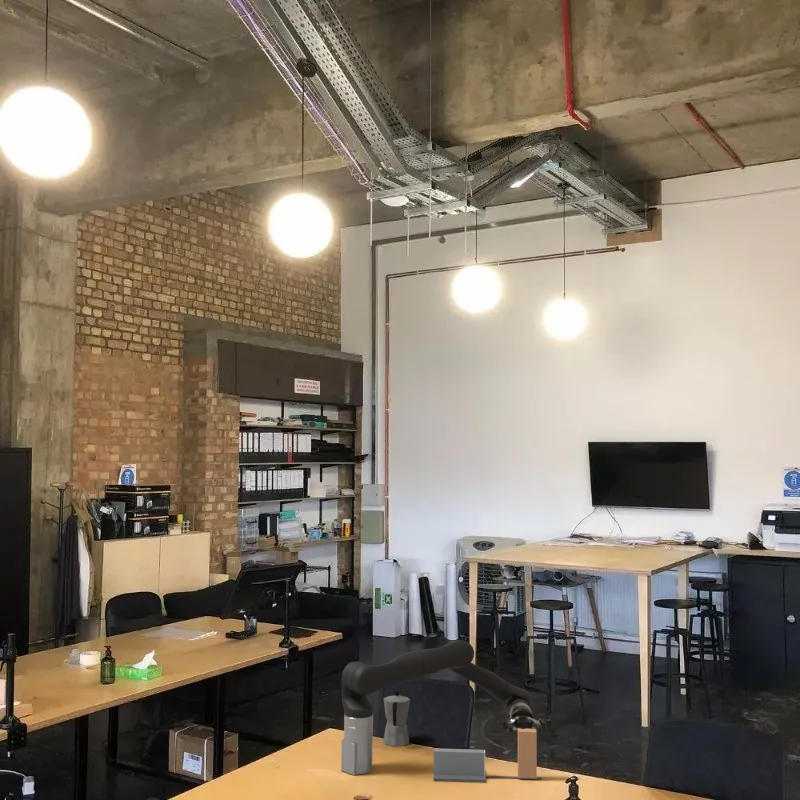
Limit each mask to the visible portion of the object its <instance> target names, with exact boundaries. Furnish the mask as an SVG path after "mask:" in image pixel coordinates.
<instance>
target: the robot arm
mask: <svg viewBox="0 0 800 800" xmlns="http://www.w3.org/2000/svg"><path fill="white" fill-rule="evenodd" d="M474 658H475V649H474V647H473V646H472V645H471V643H469V642H468V641H467V640H463V639H462V640H461V639H458V640H457V639H456V640H454V641H451V642H448V643H445V644H444V645H443V646H440V647H434V648H433V647H432V648H425V649H418V650H413V651H412V650H411V651H408V652H404V653H400V654H398V655H397V656H395V658H393V659H392V660H391V661H390V662H387V663H383V664H379V665H369V664H366V663H364V662H363V663H362V662H359V661H351V662H348V664H347V665H346V666H345V667H344V668H343V671H342V675H341V703H342V706H343V710H344V714H343V715H344V718H343V719H344V721H343V724H344V725H343V726H344V727H343V739H342V740H341V751H340V752H341V754H340V756H341V758H340V759H341V763H340V765H341V766H340V770H341V772H345V773H347V774H350V775H353V776H356V775H364V774H369V773H371V772H372V771H373V753H374V752H373V746H374V745H373V742H374V739H373V737H374V706H373V704H372V703H371V701H370V700H369V699H368V697H367V696H368V695H371V694H374V693H376V692H378V691H380V690H384V689H386V688H388V687H390V686H394V685H400V684H404V683H408V682H413V681H417V680H420V679H423V678H426V677H429V676H431V675H434V674H436V673H438V672H441V671H443V670H446V669H448V670H450V671H451V672H453V673H455V674H458V675H459V676H461V677H463V678H465V679H466V680H468V681H470V682H472V683H473V684H475V685H476V686H478V687H480V688H481V689H482V690H484V691H485V692H486V693H488V694H489V695H491V696H492V697H493V698H494V699H496V700H497V701H499V702H505V703H504V706H503V709H504V711H505V713H506V714H508V715H509V719H508V718H507V717H505V716H504V717H501V718H502V719H501V720H502V722H501V723H502V730H503V731H506V730H507V731H508V732H509V733H510V734H514V731H518V729H536V732H537V735H540V733H542V731H543V732H545V731H547V726H546V724H547V722H546V721H545V719H544V718H543V717H541V718H539V719H538V720H537V719H535V718H534V715H533V712H532V709H531V708H530V706H531V704H532V702H533V697H532V696H531V694H530V693H529V691H527V690H526V689H524V688H521V687H520V686H515V685H513V684H511V683H509V682H508V681H506V680H505V679H503V678H502V677H500V675H499V674H496V672H493V671H491V670H489V669H487V668H484V667H482V666H479V665H477V664H475V663H472V661H474Z"/></svg>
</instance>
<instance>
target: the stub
mask: <svg viewBox="0 0 800 800" xmlns="http://www.w3.org/2000/svg"><path fill="white" fill-rule="evenodd" d="M537 735H538V734H537V731H536V729H518V730H517V777H518V778H535V779H534V780H536V779H537V777H538V776H537V769H538V768H537V765H538V764H537V763H538V762H537V756H538V755H537V753H538V752H537V750H538V749H537V746H538V745H537V743H538V742H537V737H538V736H537Z"/></svg>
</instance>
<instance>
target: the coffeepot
mask: <svg viewBox="0 0 800 800" xmlns="http://www.w3.org/2000/svg"><path fill="white" fill-rule="evenodd" d="M399 693H400V691H399V690H397V689H395V690H394V695H389V696H385V697H384V698H383V704H384V713H385V718H386V720H387V721H386V723H385V724H386V725H385V728H384V729H385V730H384V734H383V743H385V744H384V745H386V746H388V747H393V748H394V747H396V748H397V747H404V746H407V745H409V743H410V738H409V736H410V735H409V732H408V725H407V719H408V716H409V708H410V702H411V699H410V698H409V697H407V696H405V695H404V696H403V695H400V694H399Z"/></svg>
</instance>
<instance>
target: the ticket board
mask: <svg viewBox="0 0 800 800" xmlns="http://www.w3.org/2000/svg"><path fill="white" fill-rule="evenodd" d="M486 778H487V779H512V780H536V779H535V778H518V776H514V775H513V776H512V775H511V776H510V775H508V776H507V775H486V750H485V749H468V748H467V749H464V748H441V747H440V748H435V747H434V749H433V780H432V781H433V782H450V783H451V782H453V783H454V782H456V783H476V784H478V783H479V784H480V783H481V784H482V783H483V784H485V783H486ZM537 779H541V780H542V777H539V776H537Z"/></svg>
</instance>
